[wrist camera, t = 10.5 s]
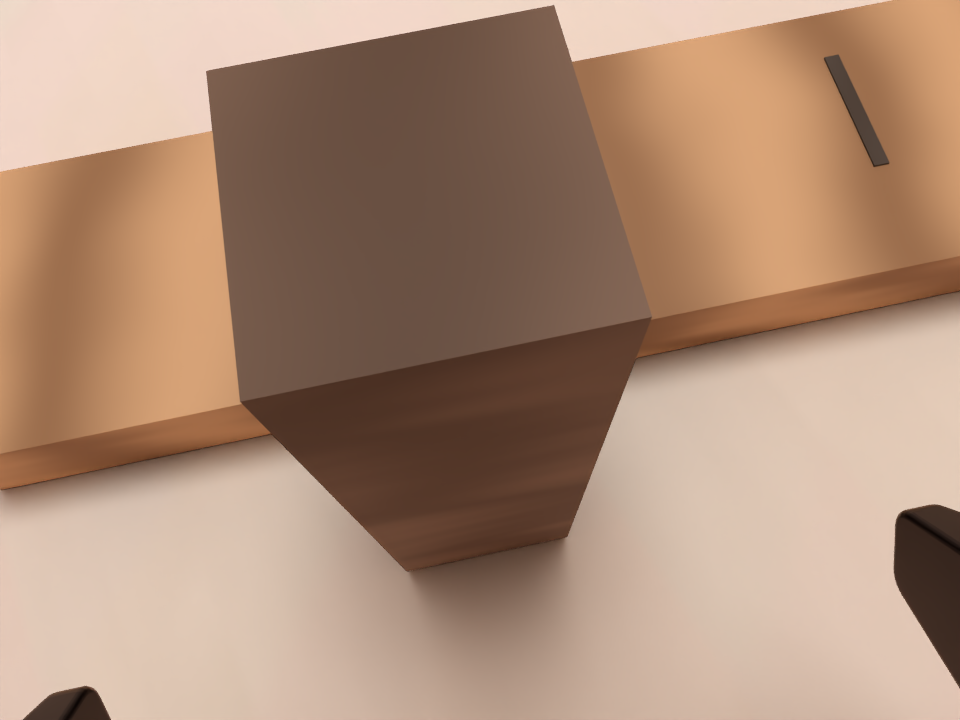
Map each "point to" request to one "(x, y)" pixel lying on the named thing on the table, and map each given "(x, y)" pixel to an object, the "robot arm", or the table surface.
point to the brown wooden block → (429, 278)
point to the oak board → (635, 184)
